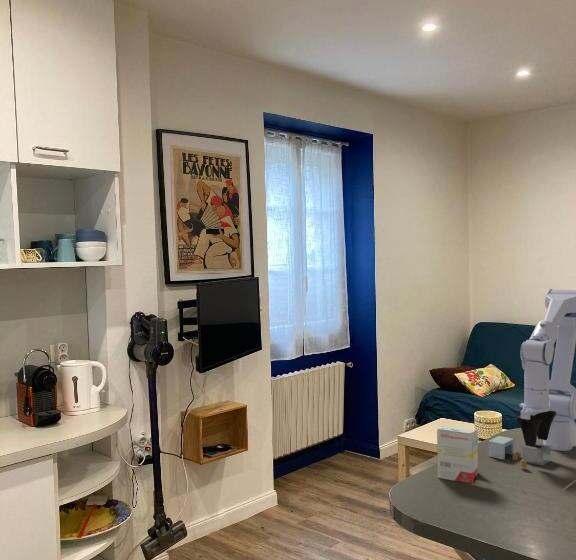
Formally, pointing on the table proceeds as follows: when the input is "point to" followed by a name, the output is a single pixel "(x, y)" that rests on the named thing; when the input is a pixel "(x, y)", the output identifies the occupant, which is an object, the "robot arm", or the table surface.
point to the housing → (501, 447)
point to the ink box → (457, 453)
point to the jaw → (537, 454)
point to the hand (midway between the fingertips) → (536, 442)
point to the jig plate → (522, 463)
